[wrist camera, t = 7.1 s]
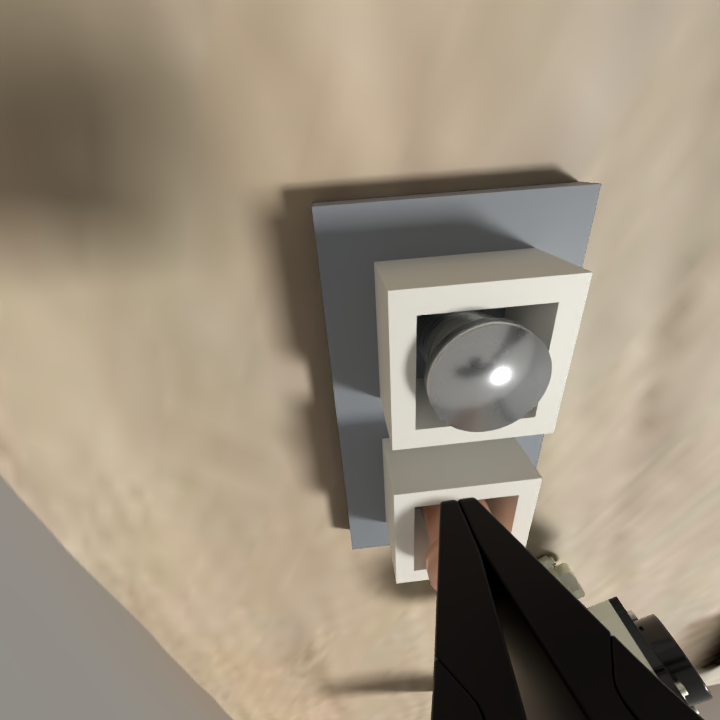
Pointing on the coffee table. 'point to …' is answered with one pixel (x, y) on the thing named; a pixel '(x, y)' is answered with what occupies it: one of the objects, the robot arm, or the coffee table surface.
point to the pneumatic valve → (642, 640)
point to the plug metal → (481, 368)
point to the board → (406, 365)
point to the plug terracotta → (435, 538)
